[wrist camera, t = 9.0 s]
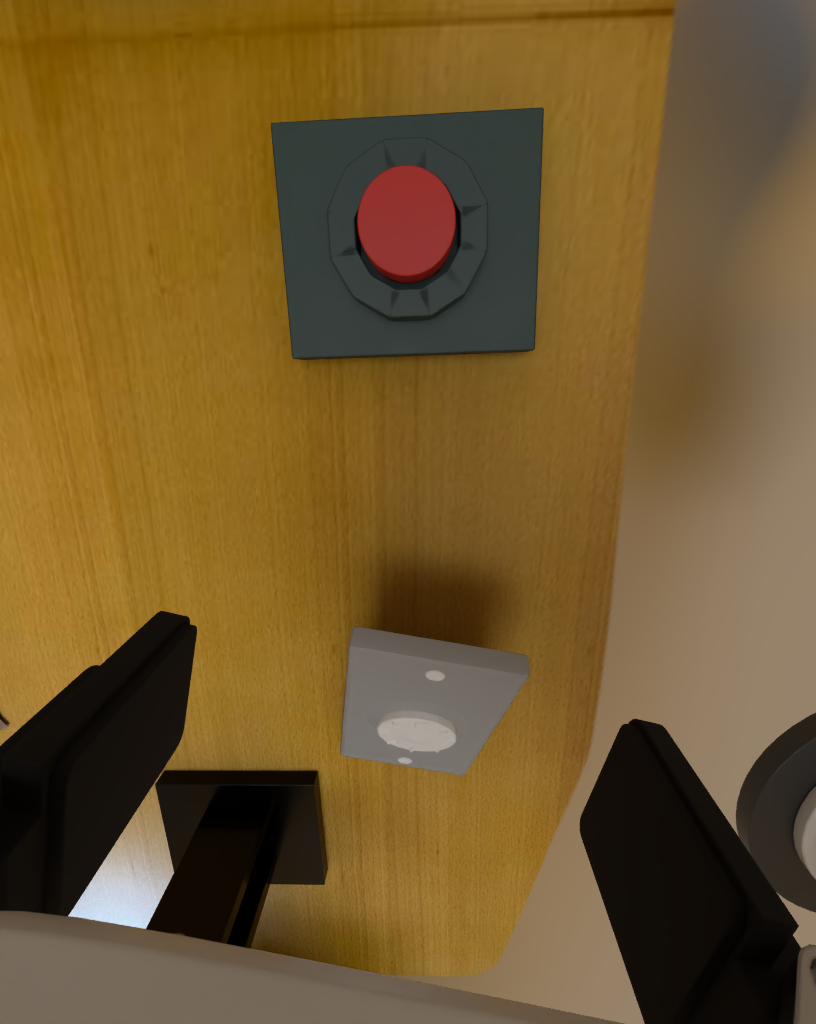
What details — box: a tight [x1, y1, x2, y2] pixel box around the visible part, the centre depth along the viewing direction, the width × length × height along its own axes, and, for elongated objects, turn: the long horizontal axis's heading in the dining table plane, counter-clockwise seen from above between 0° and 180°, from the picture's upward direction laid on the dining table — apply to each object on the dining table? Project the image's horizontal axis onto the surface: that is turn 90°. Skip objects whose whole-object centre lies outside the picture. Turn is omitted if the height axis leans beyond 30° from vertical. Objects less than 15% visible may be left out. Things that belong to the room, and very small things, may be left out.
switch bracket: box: [146, 771, 327, 949], centre depth 30 cm, size 11×9×12 cm
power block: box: [271, 108, 544, 360], centre depth 23 cm, size 12×10×4 cm
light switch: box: [340, 627, 529, 775], centre depth 29 cm, size 8×6×14 cm
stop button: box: [357, 165, 456, 283], centre depth 21 cm, size 4×4×2 cm
